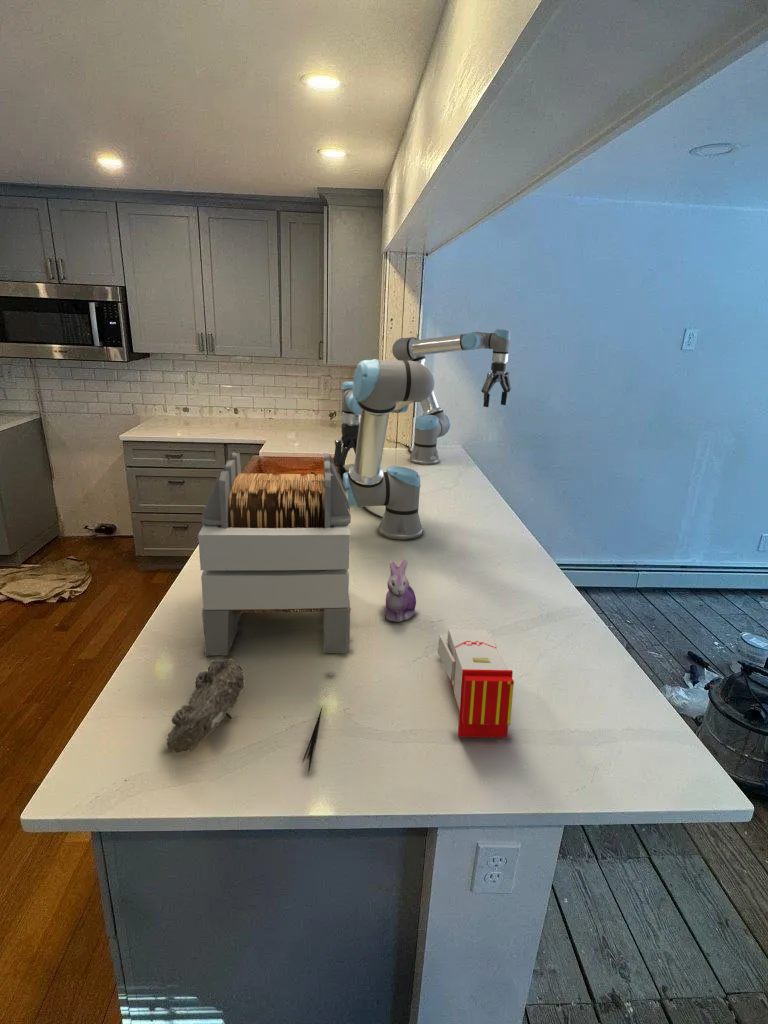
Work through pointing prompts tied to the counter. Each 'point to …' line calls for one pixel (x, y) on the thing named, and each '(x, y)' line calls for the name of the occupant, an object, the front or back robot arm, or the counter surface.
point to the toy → (478, 682)
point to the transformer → (275, 551)
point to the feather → (313, 740)
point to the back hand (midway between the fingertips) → (494, 405)
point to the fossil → (206, 705)
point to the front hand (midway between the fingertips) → (350, 481)
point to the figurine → (399, 594)
